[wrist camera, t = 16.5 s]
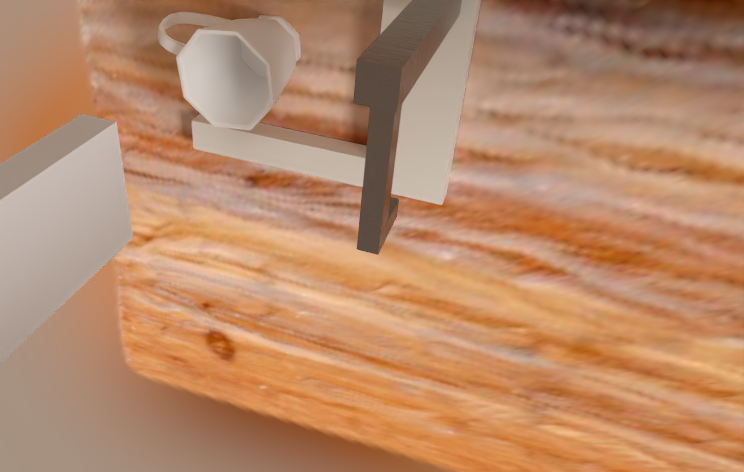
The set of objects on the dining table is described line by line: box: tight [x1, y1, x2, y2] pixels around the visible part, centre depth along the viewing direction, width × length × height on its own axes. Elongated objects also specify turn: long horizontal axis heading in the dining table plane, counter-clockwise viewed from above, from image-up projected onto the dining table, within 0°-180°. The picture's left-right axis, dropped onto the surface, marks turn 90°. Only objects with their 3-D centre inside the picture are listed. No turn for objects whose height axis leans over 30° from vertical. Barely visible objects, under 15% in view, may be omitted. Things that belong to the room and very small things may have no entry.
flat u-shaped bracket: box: [191, 0, 481, 205], centre depth 46 cm, size 22×20×2 cm
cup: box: [157, 12, 301, 130], centre depth 46 cm, size 7×10×8 cm
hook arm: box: [354, 0, 462, 254], centre depth 38 cm, size 11×2×16 cm, turn 175°
